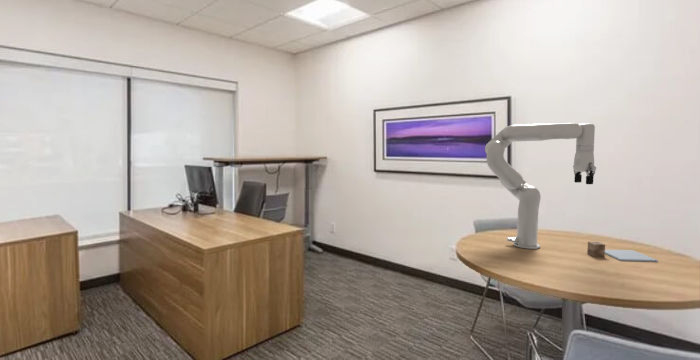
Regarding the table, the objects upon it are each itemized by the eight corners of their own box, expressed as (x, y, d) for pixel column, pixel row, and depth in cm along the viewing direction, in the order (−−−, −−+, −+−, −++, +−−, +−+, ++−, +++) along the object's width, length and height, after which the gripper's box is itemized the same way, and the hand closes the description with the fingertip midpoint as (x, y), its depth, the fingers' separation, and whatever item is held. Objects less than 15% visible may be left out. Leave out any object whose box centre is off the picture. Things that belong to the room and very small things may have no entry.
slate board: (620, 260, 166) (620, 259, 166) (598, 251, 182) (598, 249, 182) (657, 261, 165) (657, 260, 165) (632, 251, 181) (633, 250, 181)
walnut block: (593, 256, 172) (594, 244, 172) (587, 253, 177) (587, 241, 176) (604, 257, 172) (605, 244, 171) (598, 254, 177) (598, 241, 176)
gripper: (567, 149, 191) (566, 181, 192) (587, 149, 174) (586, 185, 175) (582, 148, 191) (581, 181, 192) (603, 148, 173) (602, 184, 175)
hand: (583, 183), depth 183 cm, fingers open, 9 cm apart
